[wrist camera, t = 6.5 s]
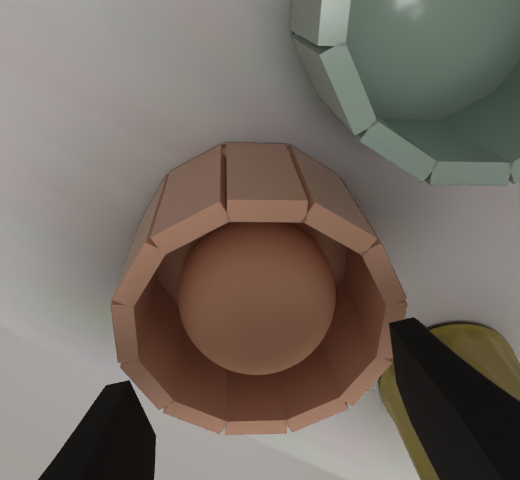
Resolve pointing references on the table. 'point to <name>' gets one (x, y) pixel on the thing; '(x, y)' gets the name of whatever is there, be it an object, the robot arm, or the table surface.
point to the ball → (256, 296)
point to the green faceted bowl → (421, 81)
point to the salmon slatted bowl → (254, 210)
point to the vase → (473, 352)
